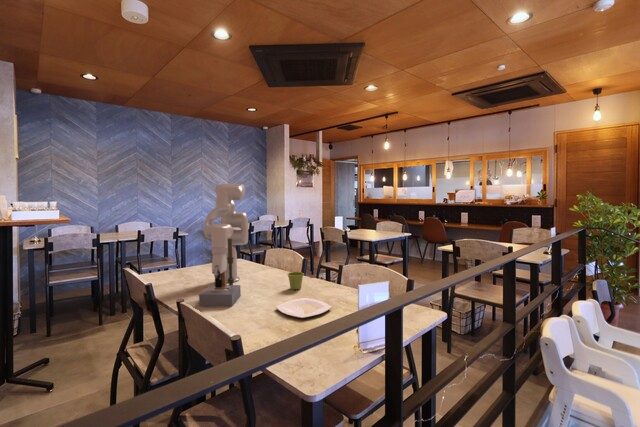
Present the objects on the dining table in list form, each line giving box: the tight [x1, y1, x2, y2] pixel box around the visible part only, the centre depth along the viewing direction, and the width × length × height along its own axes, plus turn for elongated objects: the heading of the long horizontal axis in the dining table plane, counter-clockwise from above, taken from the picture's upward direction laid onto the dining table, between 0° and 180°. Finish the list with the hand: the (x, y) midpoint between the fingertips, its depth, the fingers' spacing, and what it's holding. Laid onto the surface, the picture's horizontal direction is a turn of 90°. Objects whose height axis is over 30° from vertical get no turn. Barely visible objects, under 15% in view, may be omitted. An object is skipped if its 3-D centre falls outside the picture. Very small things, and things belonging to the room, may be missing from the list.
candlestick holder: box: [227, 239, 235, 285], centre depth 189 cm, size 9×9×30 cm
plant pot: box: [287, 271, 305, 290], centre depth 193 cm, size 9×9×9 cm
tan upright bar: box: [215, 271, 227, 289], centre depth 171 cm, size 2×5×14 cm, turn 89°
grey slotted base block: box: [198, 284, 242, 308], centre depth 172 cm, size 16×16×7 cm
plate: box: [275, 297, 333, 319], centre depth 159 cm, size 23×23×2 cm
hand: (220, 285), depth 171 cm, fingers open, 5 cm apart
